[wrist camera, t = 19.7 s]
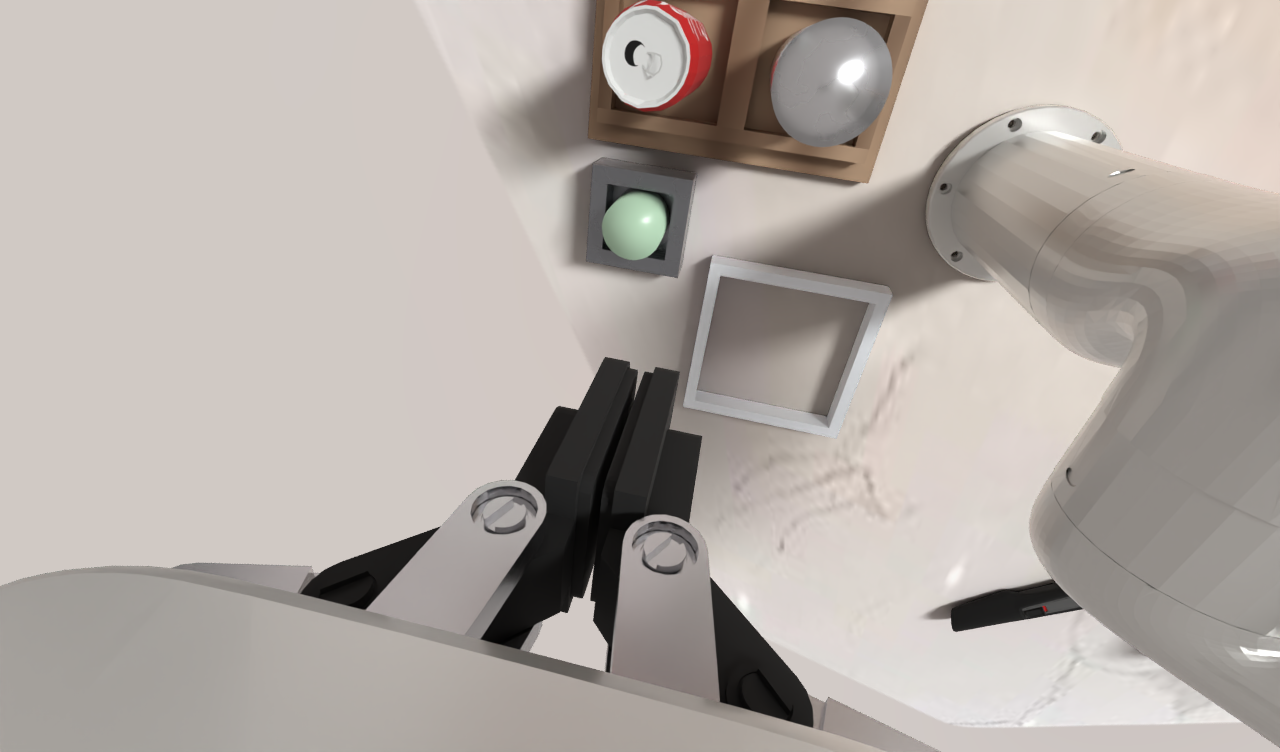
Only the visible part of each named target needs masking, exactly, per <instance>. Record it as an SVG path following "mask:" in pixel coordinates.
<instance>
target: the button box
mask: <svg viewBox="0 0 1280 752" xmlns="http://www.w3.org/2000/svg"><path fill="white" fill-rule="evenodd" d="M696 178H697V173H694V172H688V171H682V170H676V169H669V168H663V167H657V166H651V165H645V164H639V163H633V162H627V161H621V160H615V159H609V158H601V159H599V160H598V161H596V162H595V163H594V164H593V168H592V183H591V197H590V212H589V226H588V241H587V256H586V261H588V262H593V263H599V264H604V265H609V266H615V267H620V268H626V269H631V270H637V271H642V272H648V273H653V274H658V275H664V276H669V277H675V278H678V275H679V273H680V270H681V267H682V262H683V256H684V250H685V244H686V238H687V232H688V226H689V220H690V214H691V208H692V202H693V196H694V190H695V184H696ZM633 188H635V189H641V190H647V191H653V192H656V193H657V194H659V195H660V196H661V197H662V198H663V200H664V201H665V203H666V205H667V207H668V210H669V225H668V228H667V230H666V232H665V234H664V236H663V238H662V240H661V242H660V244H659V245H658V247H657V249H656V250H655V251H654V252H653V253H652V254H651V255H649V256H648V257H646V258H643V259H639V260H628V259H624V258H622V257H620V256H618V255H616V254H615V253H614V252H613V251H611V249H610V248H609V247H608V246H607V244H606V242H605V240H604V237H603V233H602V222H603V218H604V216H605V214H606V212H607V210H608V209H609V208H610V207H611V206H612V205H613V204H614V203H615V201H616V200H617V199H618V198H619V197H620V196H621V195H622V194H623V193H625V192H626V191H628V190H630V189H633Z"/></svg>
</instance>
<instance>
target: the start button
mask: <svg viewBox="0 0 1280 752" xmlns="http://www.w3.org/2000/svg"><path fill="white" fill-rule="evenodd" d="M668 225H669V210H668V207H667V205H666V203H665V201H664V200H663V198H662V197H661V196H660V195H659V194H657V193H656V192H653V191H647V190H641V189H635V188H633V189H630V190H628V191H626V192H625V193H623V194H622V195H621V196H620V197H619V198H618V199H617V200H616V201H615V203H614V204H613V205H612V206H611V207H610V208H609V209H608V210H607V212H606V214H605V216H604V218H603V222H602V233H603V237H604V240H605V242H606V244H607V246H608V247H609V248H610V249H611V251H613V252H614V253H615V254H616V255H618V256H620V257H622V258H624V259H628V260H639V259H643V258H646V257H648V256H649V255H651V254H652V253H653V252H654V251H655V250H656V249H657V247H658V245H659V244H660V242H661V240H662V238H663V236H664V234H665V232H666V230H667V228H668Z"/></svg>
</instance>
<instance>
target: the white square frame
mask: <svg viewBox="0 0 1280 752" xmlns="http://www.w3.org/2000/svg"><path fill="white" fill-rule="evenodd" d="M720 276H725V277H730V278H736V279H741V280H746V281H752V282H757V283H763V284H768V285H774V286H779V287H785V288H790V289H796V290H801V291H807V292H812V293H818V294H823V295H829V296H834V297H840V298H845V299H851V300H856V301H862V302H867V303H869V305H868V307H867V310H866V313H865V315H864V318H863V321H862V323H861V326H860V329H859V332H858V334H857V337H856V340H855V342H854V345H853V348H852V350H851V353H850V356H849V358H848V361H847V364H846V367H845V369H844V372H843V375H842V377H841V380H840V383H839V385H838V388H837V391H836V393H835V396H834V399H833V402H832V404H831V407H830V410H829V412H828V415H827V416H823V415H818V414H813V413H808V412H803V411H798V410H793V409H789V408H784V407H779V406H774V405H769V404H764V403H759V402H754V401H749V400H744V399H739V398H734V397H729V396H725V395H720V394H715V393H710V392H705V391H700V390H697V386H698V381H699V377H700V372H701V367H702V362H703V357H704V352H705V348H706V343H707V338H708V333H709V328H710V324H711V319H712V314H713V309H714V304H715V299H716V295H717V290H718V285H719V280H720ZM892 296H893V295H892V293H891V291H890V289H889V287H888V286H884V285H879V284H873V283H868V282H862V281H856V280H851V279H845V278H840V277H834V276H828V275H823V274H817V273H812V272H806V271H800V270H795V269H789V268H784V267H778V266H772V265H767V264H761V263H756V262H750V261H744V260H739V259H733V258H728V257H722V256H716V255H713V256H712V260H711V265H710V270H709V275H708V280H707V285H706V291H705V296H704V301H703V306H702V311H701V316H700V321H699V326H698V331H697V337H696V342H695V347H694V352H693V357H692V362H691V367H690V372H689V378H688V383H687V388H686V393H685V398H684V403H683V407H686V408H691V409H696V410H700V411H705V412H710V413H715V414H720V415H725V416H729V417H734V418H739V419H744V420H749V421H754V422H758V423H763V424H768V425H773V426H778V427H783V428H787V429H792V430H797V431H802V432H807V433H812V434H816V435H821V436H826V437H831V438H836V439H837V436H838V434H839V431H840V428H841V426H842V423H843V421H844V418H845V416H846V413H847V411H848V408H849V406H850V403H851V400H852V398H853V395H854V393H855V390H856V388H857V385H858V383H859V380H860V378H861V375H862V372H863V370H864V367H865V365H866V362H867V360H868V357H869V355H870V352H871V350H872V347H873V344H874V342H875V339H876V337H877V334H878V332H879V329H880V327H881V324H882V322H883V319H884V316H885V314H886V311H887V309H888V306H889V304H890V301H891V299H892Z"/></svg>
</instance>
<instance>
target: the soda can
mask: <svg viewBox="0 0 1280 752" xmlns="http://www.w3.org/2000/svg"><path fill="white" fill-rule="evenodd" d="M711 60H712V44H711V41H710V39H709V37H708V35H707V32H706V30H705V28H704V25H703V23H701V22H700V21H699V20H697V19H696V18H694V17H693V16H691V15H690V14H689V13H687V12H686V11H684V10H682V9H679V8H677V7H675V6H672V5H670V4H668V3H665V2H662V1H655V0H645V1H639V2H636V3H634V4H632V5H631V6H629V7H627V8H625V9H624V10H623V11H622V12H621V13H620V14H619V15H617V16H616V17H615V19H614V21H613V23H612V24H611V26H610V28H609V29H608V31H607V34H606V37H605V40H604V44H603V49H602V64H603V70H604V74H605V77H606V79H607V82H608V84H609V86H610V87H611V88H612V89H613V91H614V92H615V93H616V94H617V96H618V97H619V98H620V99H621V101H623V102H624V103H625V104H626V105H629V106H631V107H634V108H636V109H638V110H641V111H643V112H647V111H661V110H664V109H666V108H668V107H671V106H673V105H675V104H676V103H678V102H679V101H681V100H682V99H684V98H685V97H687V96H688V95H689V94H691V93H692V92H694V91H695V90H696V89H697V88H698V87H700V85H701V84H702V82H703V81H704V80H705V78H706V77H707V74H708V72H709V69H710V66H711Z"/></svg>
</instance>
